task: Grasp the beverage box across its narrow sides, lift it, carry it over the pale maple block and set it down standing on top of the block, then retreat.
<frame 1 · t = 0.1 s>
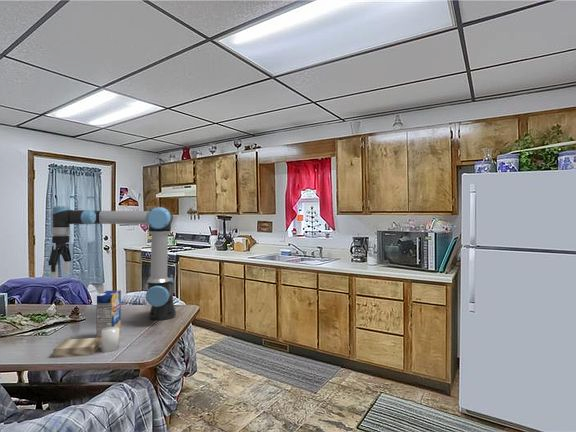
hand: (60, 275, 173), 28 cm above the table, fingers open, 13 cm apart
maple block: (78, 350, 145), on the table
white rounded cylinder: (110, 349, 148), on the table
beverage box: (108, 338, 161), on the table
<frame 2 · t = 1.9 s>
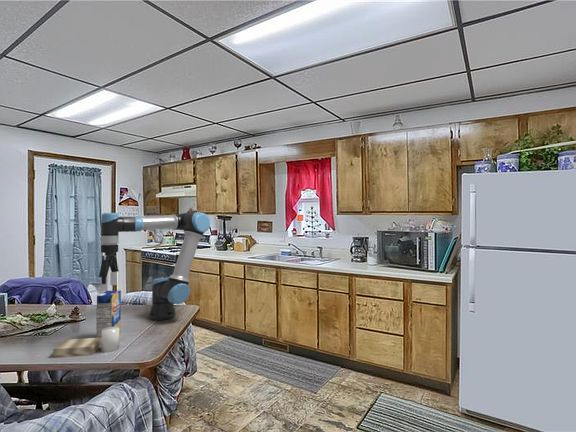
hand: (109, 287, 161), 25 cm above the table, fingers open, 13 cm apart
nothing on the table moved.
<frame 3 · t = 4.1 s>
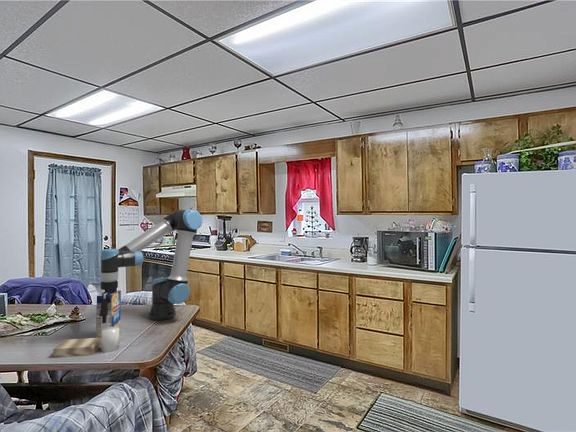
hand: (108, 325, 161), 6 cm above the table, fingers closed on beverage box, 11 cm apart
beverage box: (108, 338, 161), on the table, touching gripper
everything else where it was.
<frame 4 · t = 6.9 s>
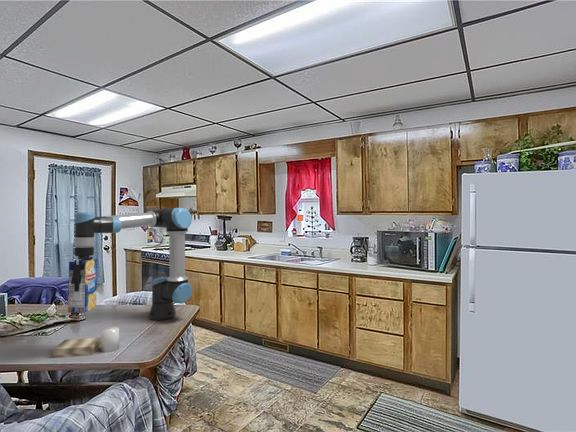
hand: (82, 295, 147), 24 cm above the table, fingers closed on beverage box, 11 cm apart
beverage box: (82, 309, 147), point 18 cm above the table, touching gripper
everything else where it was.
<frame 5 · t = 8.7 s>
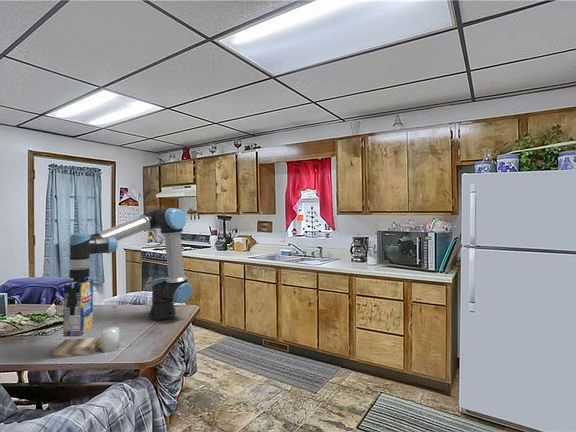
hand: (78, 318, 145), 14 cm above the table, fingers closed on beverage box, 11 cm apart
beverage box: (78, 332, 145), point 8 cm above the table, touching gripper
everything else where it was.
when the fingers open (11 cm above the table, at t = 10.0 s): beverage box drops 1 cm, resting on maple block.
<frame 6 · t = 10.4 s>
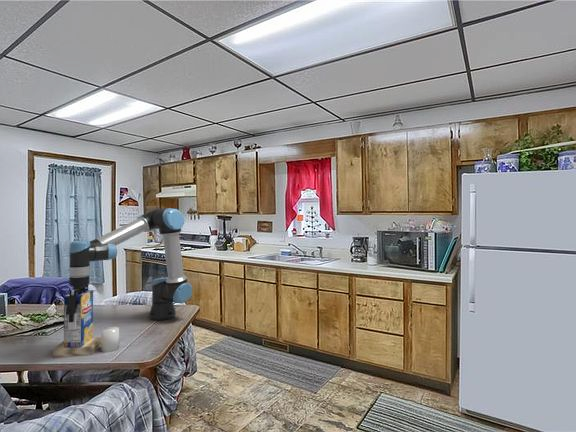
hand: (78, 324, 145), 12 cm above the table, fingers open, 13 cm apart
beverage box: (78, 343, 145), point 3 cm above the table, touching maple block
everything else where it was.
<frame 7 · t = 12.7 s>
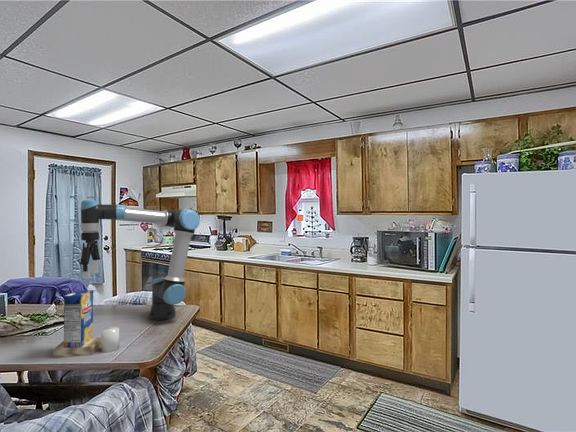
hand: (90, 275, 160), 31 cm above the table, fingers open, 13 cm apart
nothing on the table moved.
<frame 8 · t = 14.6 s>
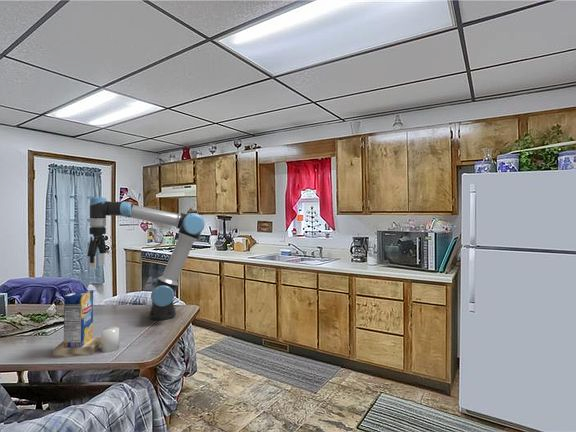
hand: (97, 267, 173), 33 cm above the table, fingers open, 13 cm apart
nothing on the table moved.
at the end: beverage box 0.1 cm from the maple block (horizontally); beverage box touching maple block; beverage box tilted 0° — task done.
